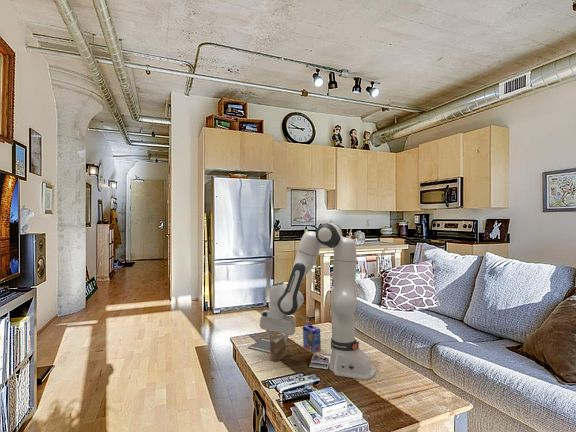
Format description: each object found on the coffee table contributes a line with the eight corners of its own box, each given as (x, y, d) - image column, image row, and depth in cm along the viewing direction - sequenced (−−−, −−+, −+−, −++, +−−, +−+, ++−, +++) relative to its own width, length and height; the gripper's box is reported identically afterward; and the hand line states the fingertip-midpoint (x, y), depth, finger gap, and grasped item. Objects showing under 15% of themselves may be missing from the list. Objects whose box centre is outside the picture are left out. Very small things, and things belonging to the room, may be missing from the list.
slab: (285, 355, 176) (285, 335, 177) (276, 362, 169) (276, 340, 169) (279, 354, 178) (279, 333, 179) (270, 360, 171) (269, 339, 171)
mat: (284, 345, 191) (284, 343, 191) (271, 353, 179) (271, 352, 179) (261, 340, 199) (261, 338, 199) (247, 348, 187) (247, 346, 187)
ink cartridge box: (302, 347, 188) (302, 321, 188) (310, 344, 192) (309, 319, 192) (313, 352, 180) (313, 326, 180) (321, 350, 183) (320, 324, 184)
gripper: (297, 315, 171) (297, 342, 171) (264, 309, 182) (264, 334, 181) (291, 318, 166) (291, 346, 166) (258, 312, 176) (257, 338, 176)
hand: (277, 340), depth 174 cm, fingers open, 8 cm apart
